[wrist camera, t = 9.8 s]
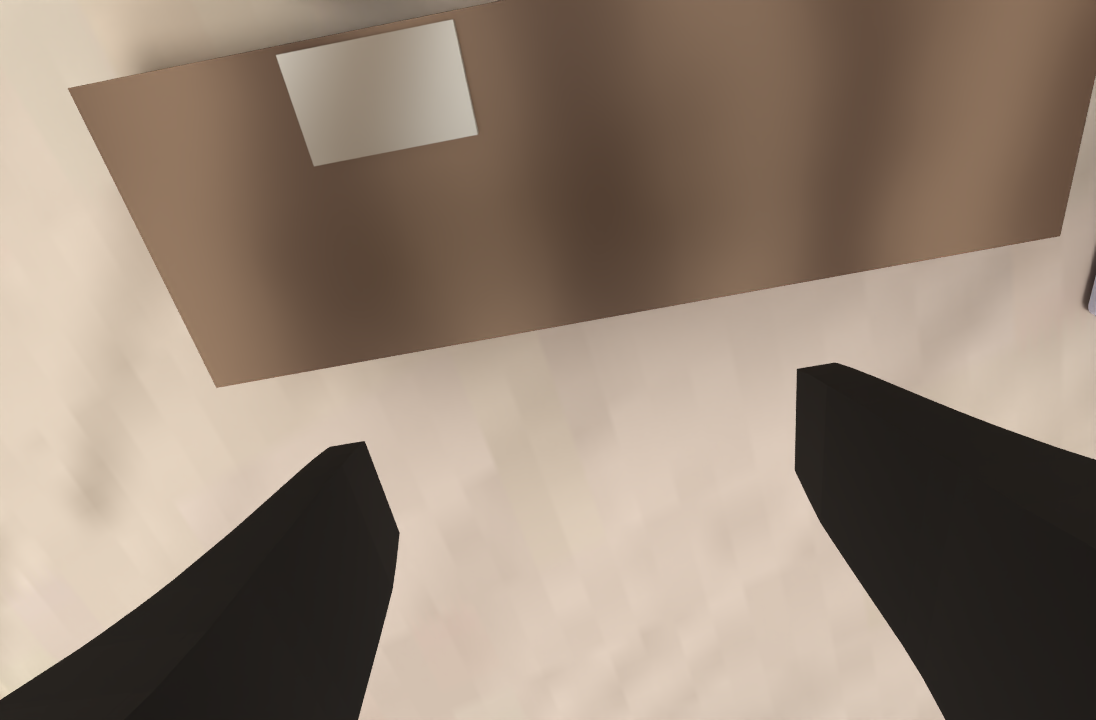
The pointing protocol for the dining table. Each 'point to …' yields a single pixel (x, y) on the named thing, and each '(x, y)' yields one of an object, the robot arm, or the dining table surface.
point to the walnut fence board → (584, 163)
